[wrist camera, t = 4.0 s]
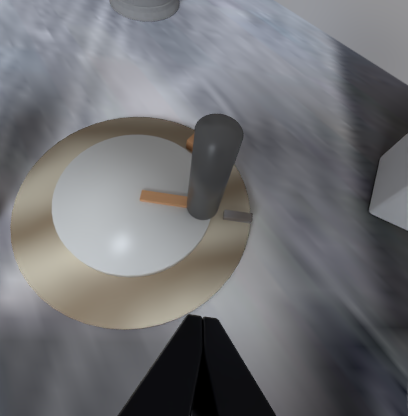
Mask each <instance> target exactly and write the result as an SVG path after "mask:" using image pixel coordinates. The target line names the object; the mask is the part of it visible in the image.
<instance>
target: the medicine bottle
mask: <svg viewBox="0 0 408 416" xmlns="http://www.w3.org/2000/svg"><path fill="white" fill-rule="evenodd" d="M369 212H370V213H371V214H372V215H374V216H377V217H379V218H381V219H383V220H385V221H387V222H390V223H392V224H394V225H396V226H398V227H401V228H403V229H405V230H407V231H408V133H407V134H406V135H405V136H404V137H403V138H402V139H401V140H399V141H398V142H397V143H396V144H395V145H394V146H393V147H392V148H390V149H389V150H388V151H387V152H386V153H385V154H384V155H383V156H381V158H380V161H379V165H378V170H377V175H376V179H375V184H374V188H373V193H372V198H371V202H370V207H369Z"/></svg>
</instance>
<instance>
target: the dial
mask: <svg viewBox="0 0 408 416" xmlns="http://www.w3.org/2000/svg"><path fill="white" fill-rule="evenodd" d="M242 140H243V130H242V128H241V126H240V125H239V123H238V122H237V121H236V120H234V119H233V118H231V117H229V116H226V115H223V114H210V115H206V116H204V117H202V118H201V119H200V120H199V121H198V122H197V124H196V126H195V133H194V142H193V151H192V154H191V153H190V152H188V151H187V150H186V149H184V148H183V147H181V146H179V145H178V144H176V143H174V142H171V141H169V140H166V139H163V138H160V137H155V136H150V135H123V136H118V137H113V138H110V139H107V140H104V141H101V142H99V143H97V144H95V145H93V146H91V147H89V148H87V149H86V150H85V151H83V152H82V153H80V154H79V155H78V156H77V157H76V158H75V159H73V160H72V161H71V163H70V164H69V165H68V166H67V167H66V168H65V170H64V171H63V173H62V174H61V176H60V178H59V180H58V182H57V184H56V187H55V190H54V193H53V198H52V218H53V223H54V226H55V229H56V232H57V234H58V236H59V238H60V240H61V241H62V242H63V244H64V245H65V246H66V248H67V249H68V250H69V251H70V252H71V253H72V254H73V255H74V256H75V257H76V258H78V259H79V260H80V261H81V262H83V263H84V264H86V265H87V266H89V267H91V268H92V269H94V270H96V271H99V272H102V273H105V274H107V275H112V276H117V277H129V278H131V277H143V276H148V275H153V274H156V273H159V272H162V271H165V270H167V269H169V268H171V267H173V266H175V265H176V264H178V263H179V262H181V261H182V260H184V259H185V258H186V257H187V256H188V255H190V254H191V253H192V251H193V250H194V249H195V248H196V247H197V246H198V244H199V243H200V241H201V240H202V239H203V237H204V235H205V233H206V231H207V228H208V225H209V222H210V219H211V218H212V217H214V216H215V215H216V213H217V211H218V208H219V205H220V203H221V200H222V197H223V194H224V191H225V188H226V186H227V183H228V180H229V177H230V174H231V171H232V168H233V166H234V163H235V160H236V157H237V154H238V151H239V148H240V146H241V143H242Z"/></svg>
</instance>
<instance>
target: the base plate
mask: <svg viewBox="0 0 408 416" xmlns="http://www.w3.org/2000/svg"><path fill="white" fill-rule="evenodd" d="M194 133H195V130H193V129H191V128H188V127H186V126H184V125H181V124H178V123H175V122H171V121H167V120H163V119H156V118H148V117H129V118H119V119H113V120H107V121H104V122H100V123H96V124H93V125H91V126H88V127H85V128H83V129H81V130H79V131H77V132H75V133H73V134H71V135H69V136H67V137H66V138H64V139H63V140H61V141H60V142H58V143H57V144H56V145H54V146H53V147H52V148H51V149H49V150H48V151H47V152H46V153H45V154H44V155H43V156H42V157H41V158H40V159H39V160H38V161H37V162H36V164H35V165H34V166H33V168H32V169H31V170H30V171H29V173H28V174H27V176H26V178H25V179H24V181H23V183H22V185H21V187H20V189H19V192H18V194H17V196H16V199H15V203H14V207H13V211H12V217H11V243H12V247H13V252H14V256H15V259H16V262H17V264H18V266H19V269H20V271H21V273H22V275H23V276H24V278H25V279H26V281H27V283H28V284H29V286H30V287H31V288H32V289H33V290H34V291H35V292H36V293H37V295H38V296H39V297H40V298H41V299H42V300H44V301H45V302H46V303H47V304H49V305H50V306H51V307H52V308H54V309H55V310H57V311H59V312H61V313H62V314H64V315H66V316H68V317H69V318H72V319H75V320H77V321H80V322H83V323H85V324H89V325H94V326H98V327H103V328H108V329H122V330H128V329H143V328H148V327H153V326H157V325H162V324H164V323H167V322H170V321H173V320H176V319H178V318H180V317H182V316H184V315H186V314H188V313H190V312H192V311H194V310H195V309H196V308H198V307H199V306H201V305H202V304H204V303H205V302H206V301H208V300H209V299H210V298H211V297H212V296H213V295H214V294H215V293H216V292H217V291H218V290H219V289H220V288H221V287H222V286H223V285H224V283H225V282H226V281H227V280H228V279H229V277H230V276H231V275H232V273H233V271H234V270H235V268H236V267H237V265H238V263H239V261H240V259H241V257H242V254H243V252H244V250H245V247H246V243H247V239H248V236H249V228H250V223H251V222H252V213H250V205H249V199H248V194H247V191H246V188H245V184H244V182H243V180H242V178H241V175H240V173H239V172H238V170H237V168H236V167H235V165H234V166H233V168H232V171H231V174H230V177H229V180H228V183H227V186H226V188H225V191H224V194H223V197H222V200H221V203H220V205H219V208H218V211H217V213H216V215H215V216H214V217H212V218H211V219H210V222H209V225H208V228H207V231H206V233H205V235H204V237H203V239H202V240H201V241H200V243H199V244H198V246H197V247H196V248H195V249H194V250H193V251H192V253H191V254H190V255H188V256H187V257H186V258H185V259H184V260H182V261H181V262H179V263H178V264H176V265H175V266H173V267H171V268H169V269H167V270H165V271H162V272H159V273H156V274H153V275H148V276H143V277H131V278H129V277H117V276H112V275H107V274H105V273H102V272H99V271H96V270H94V269H92V268H91V267H89V266H87V265H86V264H84V263H83V262H81V261H80V260H79V259H78V258H76V257H75V256H74V255H73V254H72V253H71V252H70V251H69V250H68V249H67V248H66V246H65V245H64V244H63V242H62V241H61V240H60V238H59V236H58V234H57V232H56V229H55V226H54V223H53V218H52V198H53V193H54V190H55V187H56V184H57V182H58V180H59V178H60V176H61V174H62V173H63V171H64V170H65V168H66V167H67V166H68V165H69V164H70V163H71V161H72V160H73V159H75V158H76V157H77V156H78V155H79V154H80V153H82V152H83V151H85V150H86V149H87V148H89V147H91V146H93V145H95V144H97V143H99V142H101V141H104V140H107V139H110V138H113V137H118V136H123V135H150V136H155V137H160V138H163V139H166V140H169V141H171V142H174V143H176V144H178V145H179V146H181V147H183V148H184V149H186V150H187V151H188V152H190V153H191V154H192V151H193V142H194Z"/></svg>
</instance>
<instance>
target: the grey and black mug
mask: <svg viewBox="0 0 408 416" xmlns="http://www.w3.org/2000/svg"><path fill="white" fill-rule="evenodd" d="M109 1H110V4H111V7H112V8H113V9H114V10H115V11H116V12H117V13H119V14H120V15H122V16H124V17H126V18H129V19H132V20H137V21H144V22H153V21H160V20H164V19H166V18H169V17H171V16H172V15H174V14H175V13H176V12H177V10H178V8H179V0H109Z"/></svg>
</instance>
